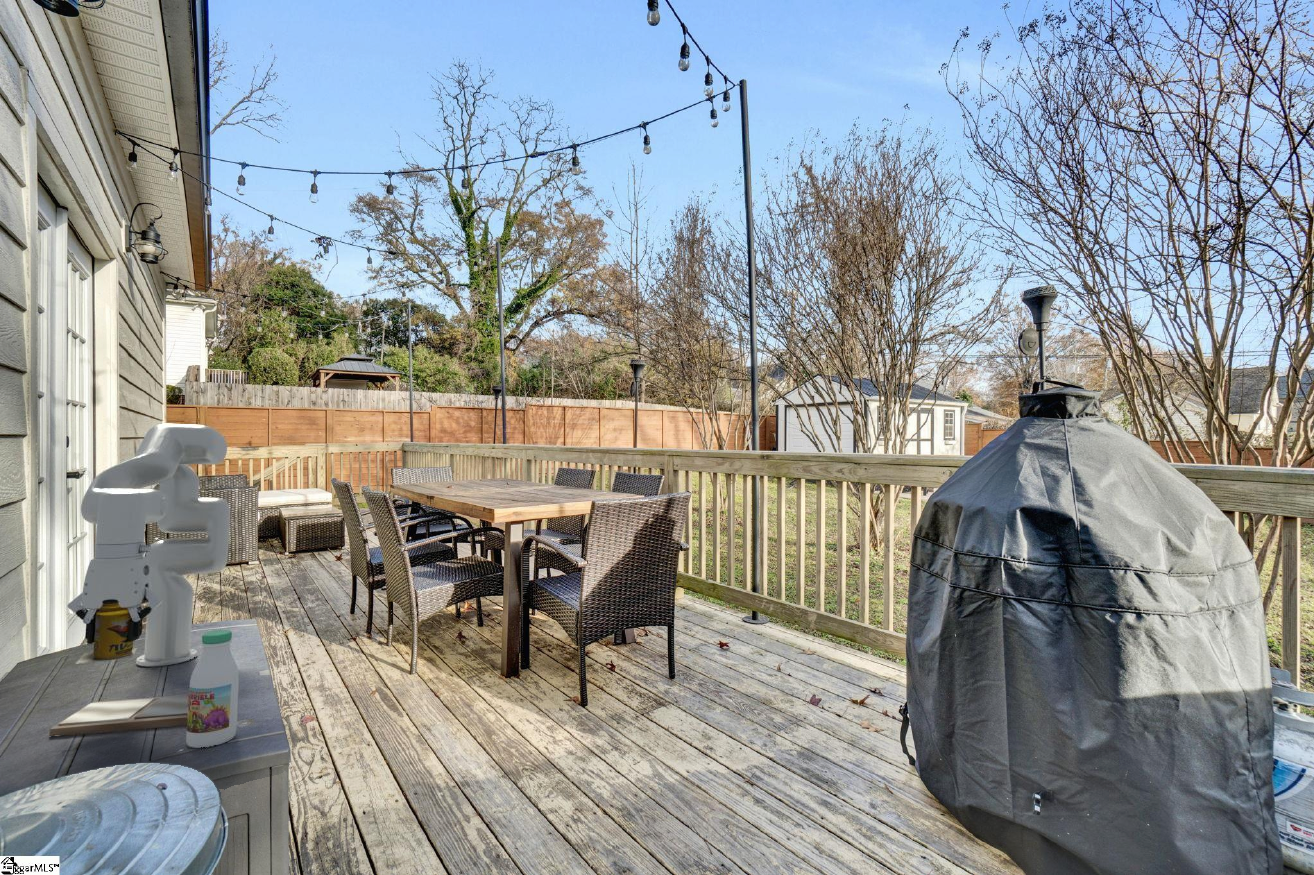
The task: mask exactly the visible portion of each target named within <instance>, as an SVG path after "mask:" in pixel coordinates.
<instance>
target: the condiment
mask: <svg viewBox="0 0 1314 875" xmlns="http://www.w3.org/2000/svg"><path fill="white" fill-rule="evenodd" d="M118 602H119V601H118V600H115V599H108V600H103V601H102V603H103V604H102V606H101V607H100V609H99V610H98V612H97V613H96V621H95V636H94V643H93V652H87V653H85V652H84V653H83V654H82V656H80V658H79V659H78V660H77V661H76V662H75V665H78V664H88V663H95V662H108V661H116V660H122V659H130V658H133V656H134V655H135V654H136V651H137V649H138V647H136V648H135V647H134V641H133V642H129V641H128V629H129V623H130V622H131V621H132V617H131V615H130V613H129V610H128V608H121V606H120V605H118V604H119V603H118ZM133 647H134V648H133Z"/></svg>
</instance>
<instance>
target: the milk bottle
mask: <svg viewBox="0 0 1314 875" xmlns="http://www.w3.org/2000/svg"><path fill="white" fill-rule="evenodd" d="M232 633H233V632H232V630H229V629H215V630H211V631H207V632H204V633H203V634H202V636H201V637H202V638H201V642H202V643H201V646H202V647H203V648H202V653H201V655H200V658H199V660H198V661H197V664H196V665H195V667H194V669H193V671H192V673H191V676H190V680H189V686H188V687H189V688H188V695H189V698H188V713H187V725H186V729H185V730H186V733H185V735H186V736H185V743H186V745H187V747H189V748H194V749H202V748H203V747H205V748H210V746H211V747H215V746H214V745H216V746H219V745H222V744H225V743H226V742H229V741H231V740H232V739H233V738H234V737H235V736H236V734H237V726H238V725H237V724H238V705H239V688H240V687H239V685H240V684H239V682H240V680H239V679H240V678H239V677H240V675H239V668H238V665H237V662H236V660H235V659H234V657H233V655H232V651H231V643H232V639H233V638H232V637H233V635H232ZM201 747H202V748H201Z"/></svg>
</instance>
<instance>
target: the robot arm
mask: <svg viewBox="0 0 1314 875" xmlns="http://www.w3.org/2000/svg"><path fill="white" fill-rule="evenodd" d="M227 444H228V443H227V441H226V439H225V436H224V435H223V434H222V433H220V432H219V431H218V430H217V429H215V428H213V427H212V426H208V425H203V424H184V423H182V424H181V423H162V424H157V425H154V426H151V427H150V429H148V430H147V431H146V434H145V435H144V437H143V439H142V441H141V442H140V445H139V447H138V449H137V450H136V452H135V454H134V456H133V457H132V458H129V459H127V460H124V461H121V462H119V463H117V464H114V465H113V466H110V467H109V468H107V469H104V470H103V471H102V472H100V473H98V475H96V476H95V477H94V479H92V481H91V483H90V485H89V487H88V488H87V490H86V491H85V494H84V496H83V498H82V501H81V505H80V513H81V516H82V518H83V520H85V522H88V523H90V524H93V525H96V531H95V532H96V535H95V544H94V545H95V546H94V558H92V559H90V561H89V563H88V566H87V569H86V573H85V578H84V580H83V586H82V592H81V593H80V594H79V595H78V596H76V597H75V598H74V599H73V600H71V601H70V602H68V604H67V608H68V609H69V610H70V611H72V612H73V613H75V616H77V617H78V618H79V619H80V620H82V623H83V624H85V635H84V636H85V637H84V639H85V640H86V644H87V645H92V644H94V636H95V621H96V613H97V612H98V610H99V609H100V607H101V606H102V604H103V603H102V601H103V600H108V599H115V600H118V601H119V602H118V603H119V604H118V605H120V606H121V608H128V610H129V613H130V615H131V617H132V621H131V622H130V623H129V629H128V641H129V642H133V643H134V641H136V640H138V639H139V638H140V637H141V636H142V634H143V621H144V620H143V619H146V624H145V638H144V640H145V642H144V653H143V654H141V655H140V656H139V657H137V658H136V660H135V661H136V662H135V664H136V665H137V666H141V667H164V666H171V665H176V664H177V665H178V664H181V663H185V662H188V661H191V660H192V659H194V657H195V658H196V657H197V655H198V650H197V649H193V648H191V643H192V640H193V637H192V624H193V623H192V622H193V607H194V606H193V605H194V604H193V603H194V587H193V586H192V585H191V583H190V582H189V581H188V580H187V579H186V578H185V576H187V575H201V574H215V573H217V574H218V573H219V572H222V571H223V570H224V569H225V568H226V566H227V563H228V556H229V555H228V554H229V543H230V542H229V541H230V527H231V526H230V525H231V510H230V509H231V507H230V506H229V503H228V501H227V500H225V499H224V498H220V497H200V496H199V493H200V492H199V491H200V483H201V482H200V481H201V480H200V479H199V478H200V477H199V476H198V475H197V473H196V471H195V470H193V468H192V467H191V466H190V465H207V466H208V465H209V466H210V465H212V466H213V465H219V464H221V463H223V461H224V460H225V459H226V456H227V453H228V445H227ZM158 484H159V490H158V489H151V488H147V487H150V486H155V485H158ZM155 523H156V524H157V528H158V529H159V531H161V532H163V533H167V534H207V536H208V537H195V538H193V537H192V538H191V537H183V538H182V537H181V538H166V539H165V538H164V539H160V540H156V541H155V542H152V544H150V545H147V544H146V542H145V532H146V531H145V529H146V525H147V524H155ZM144 555H145V556H144ZM144 604H147V606H145V607H143V605H144ZM190 659H191V660H190Z"/></svg>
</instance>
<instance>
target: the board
mask: <svg viewBox="0 0 1314 875" xmlns="http://www.w3.org/2000/svg"><path fill="white" fill-rule="evenodd" d="M188 698H189V694H181V695H169V696H168V695H167V696H154V697H143V698H129V699H127V698H126V699H117V700H116V699H115V700H103V701H101V700H100V701H91V702H90V703H88V704H87V705H85V706H84V707H82V708H80V709H79V710H77V711H75V712H74V713H73V714H71V715H69V716H68V717H66V718H65V719H63V720H61V721H60V722H59V723H57V724H56V725H54V726H52V727H51V728H50V729H49V736H55V735H67V736H76V735H75V734H80V735H89V734H90V735H91V734H100V733H111V732H112V733H113V732H123V731H124V732H125V731H132V730H133V731H135V730H146V729H157V728H167V727H181V726H187V713H188ZM67 736H66V737H67Z"/></svg>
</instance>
